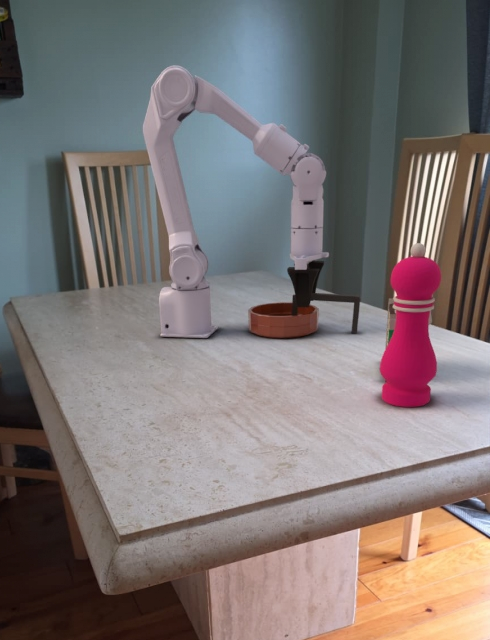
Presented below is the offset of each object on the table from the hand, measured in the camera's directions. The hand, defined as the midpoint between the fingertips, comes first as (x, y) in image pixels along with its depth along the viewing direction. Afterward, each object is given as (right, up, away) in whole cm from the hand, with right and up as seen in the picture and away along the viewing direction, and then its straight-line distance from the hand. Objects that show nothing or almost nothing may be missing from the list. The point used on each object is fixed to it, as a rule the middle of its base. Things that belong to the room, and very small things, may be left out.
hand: (305, 303), depth 117 cm
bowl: (-4, -5, +3) cm, 7 cm away
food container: (+13, -16, -23) cm, 31 cm away
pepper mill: (+10, -21, -34) cm, 41 cm away
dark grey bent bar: (+2, -5, +2) cm, 5 cm away
